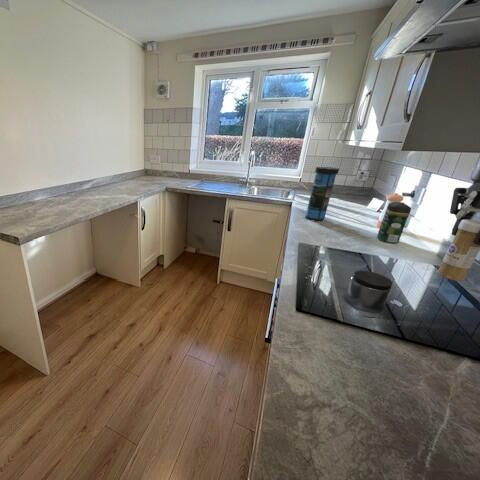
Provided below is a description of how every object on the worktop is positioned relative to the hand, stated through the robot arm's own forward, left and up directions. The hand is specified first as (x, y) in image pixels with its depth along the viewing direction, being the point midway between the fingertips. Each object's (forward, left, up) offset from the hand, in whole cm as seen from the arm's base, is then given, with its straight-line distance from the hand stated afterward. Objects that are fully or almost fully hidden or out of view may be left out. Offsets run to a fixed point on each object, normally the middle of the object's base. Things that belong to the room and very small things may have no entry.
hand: (468, 239), depth 56 cm
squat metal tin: (+9, -9, -26) cm, 29 cm away
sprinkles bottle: (0, 0, -10) cm, 10 cm away
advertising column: (-12, -100, -27) cm, 104 cm away
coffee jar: (-34, -70, -27) cm, 82 cm away
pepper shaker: (-45, -91, -27) cm, 105 cm away
